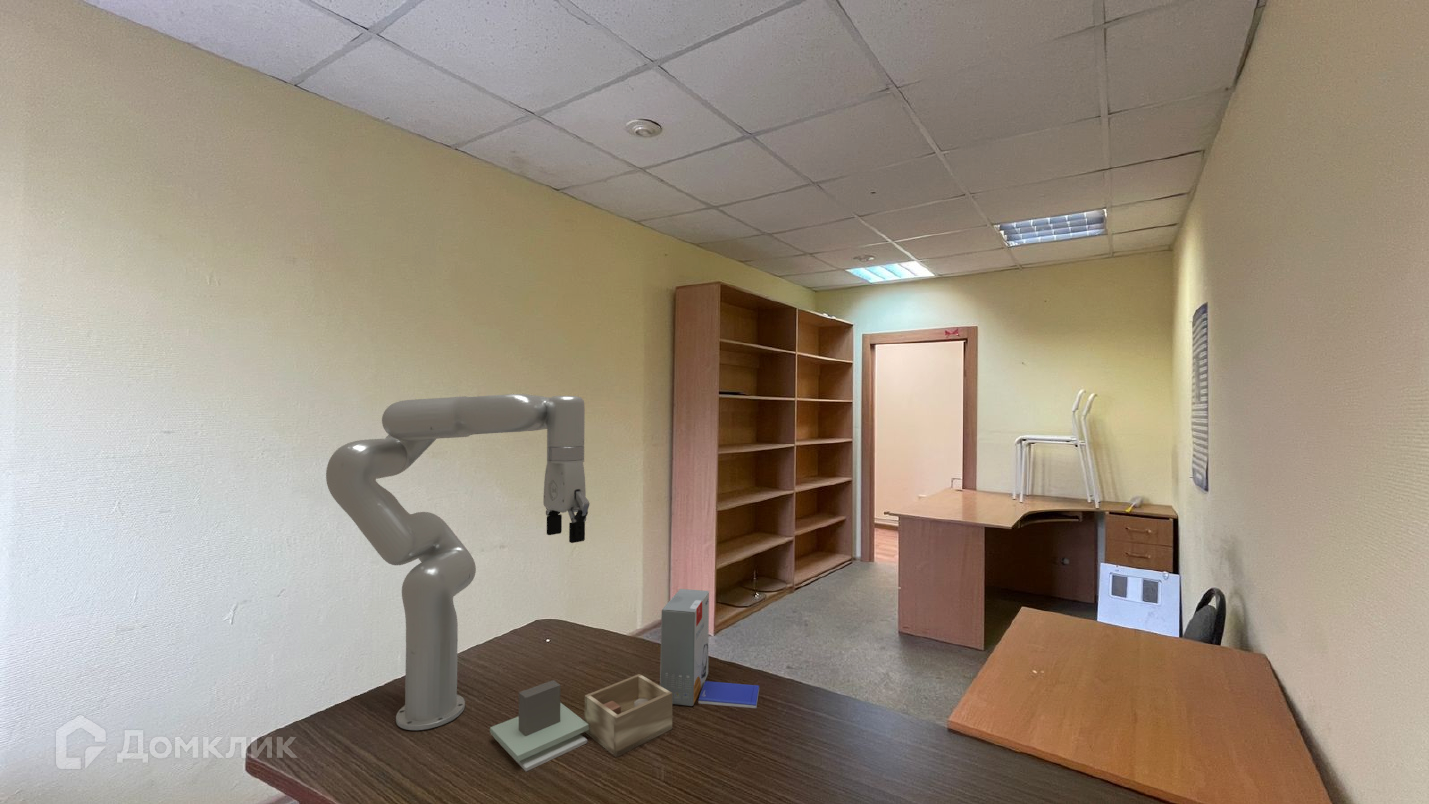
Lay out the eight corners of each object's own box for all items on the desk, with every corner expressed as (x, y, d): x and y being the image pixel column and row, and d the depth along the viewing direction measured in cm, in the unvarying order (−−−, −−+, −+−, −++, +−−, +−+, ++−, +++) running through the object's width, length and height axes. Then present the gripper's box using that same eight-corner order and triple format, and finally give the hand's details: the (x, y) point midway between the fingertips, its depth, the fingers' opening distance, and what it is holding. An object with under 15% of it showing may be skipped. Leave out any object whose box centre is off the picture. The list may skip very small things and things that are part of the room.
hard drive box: (693, 708, 115) (694, 612, 116) (659, 704, 117) (659, 609, 117) (709, 673, 131) (709, 589, 131) (678, 670, 132) (678, 587, 133)
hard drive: (698, 698, 117) (756, 703, 115) (705, 680, 125) (759, 684, 123) (698, 705, 117) (756, 711, 115) (705, 687, 125) (759, 691, 123)
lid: (490, 738, 103) (490, 689, 104) (558, 710, 113) (558, 666, 113) (517, 767, 95) (517, 715, 95) (588, 735, 104) (589, 687, 105)
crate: (584, 732, 106) (584, 695, 107) (639, 707, 115) (639, 673, 116) (616, 757, 99) (616, 718, 99) (672, 729, 108) (672, 692, 108)
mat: (493, 737, 105) (493, 734, 105) (551, 713, 113) (551, 710, 113) (525, 771, 95) (525, 768, 95) (587, 743, 103) (587, 739, 103)
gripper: (530, 453, 118) (529, 534, 117) (569, 458, 105) (569, 548, 105) (562, 452, 123) (561, 529, 122) (603, 456, 110) (603, 542, 110)
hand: (565, 537), depth 114 cm, fingers open, 9 cm apart
